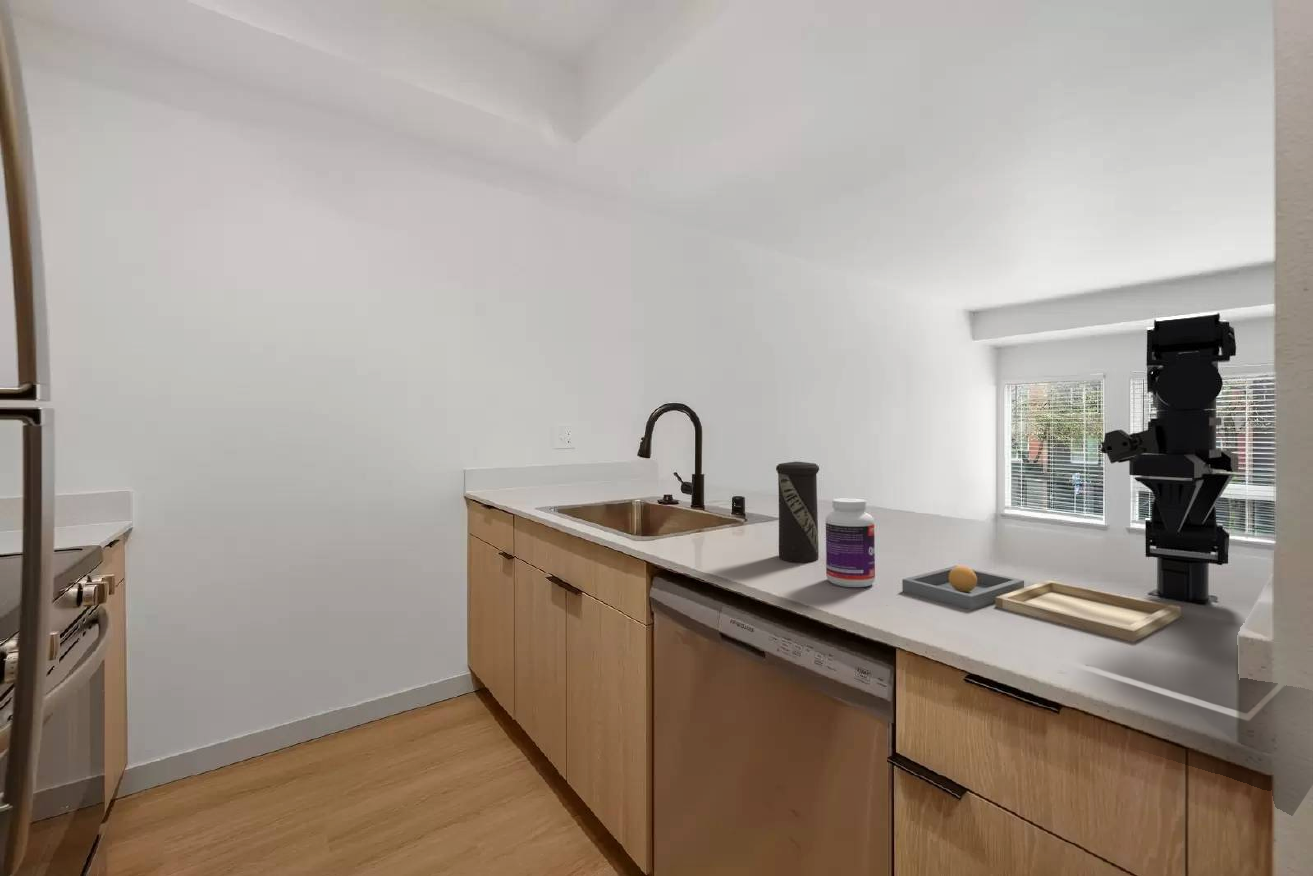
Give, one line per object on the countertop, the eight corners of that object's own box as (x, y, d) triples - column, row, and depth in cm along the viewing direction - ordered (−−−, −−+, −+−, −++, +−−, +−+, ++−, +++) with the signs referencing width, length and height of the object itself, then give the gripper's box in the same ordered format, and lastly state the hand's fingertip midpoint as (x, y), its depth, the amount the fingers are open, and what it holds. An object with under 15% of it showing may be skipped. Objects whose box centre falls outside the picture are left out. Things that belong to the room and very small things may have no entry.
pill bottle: (879, 590, 90) (878, 503, 90) (828, 588, 92) (827, 502, 92) (870, 577, 98) (869, 497, 98) (823, 575, 100) (823, 496, 99)
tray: (955, 579, 96) (955, 565, 96) (1024, 595, 86) (1024, 580, 86) (902, 594, 88) (902, 579, 88) (971, 613, 79) (971, 596, 79)
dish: (1048, 591, 88) (1048, 580, 88) (1180, 620, 75) (1180, 606, 75) (995, 609, 80) (995, 597, 80) (1133, 645, 66) (1133, 631, 66)
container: (778, 562, 110) (777, 463, 109) (775, 552, 119) (774, 460, 118) (822, 563, 108) (821, 462, 108) (817, 553, 117) (816, 460, 117)
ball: (982, 593, 87) (982, 567, 87) (968, 596, 84) (968, 570, 84) (957, 587, 90) (957, 562, 90) (943, 590, 88) (943, 565, 88)
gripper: (1136, 412, 84) (1136, 513, 84) (1081, 412, 74) (1081, 526, 75) (1239, 409, 75) (1239, 524, 75) (1192, 409, 65) (1192, 540, 65)
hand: (1185, 527), depth 73 cm, fingers open, 9 cm apart
